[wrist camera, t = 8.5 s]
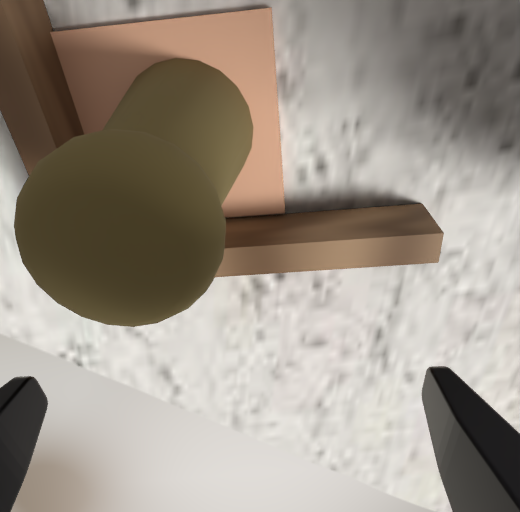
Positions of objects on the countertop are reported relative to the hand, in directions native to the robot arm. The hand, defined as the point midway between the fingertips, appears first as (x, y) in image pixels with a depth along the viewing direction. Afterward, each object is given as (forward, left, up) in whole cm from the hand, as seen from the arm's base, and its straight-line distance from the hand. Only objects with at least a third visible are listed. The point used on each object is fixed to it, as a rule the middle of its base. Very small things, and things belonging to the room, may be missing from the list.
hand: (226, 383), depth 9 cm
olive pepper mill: (+3, -2, -13) cm, 13 cm away
